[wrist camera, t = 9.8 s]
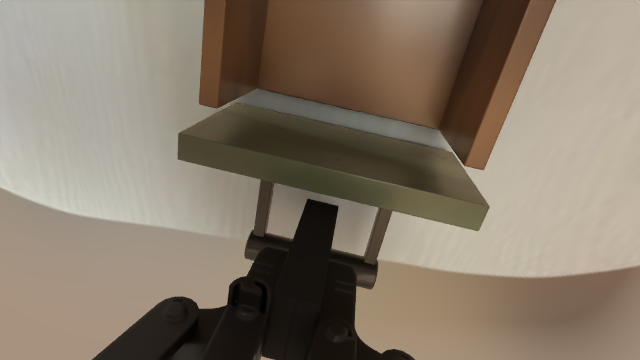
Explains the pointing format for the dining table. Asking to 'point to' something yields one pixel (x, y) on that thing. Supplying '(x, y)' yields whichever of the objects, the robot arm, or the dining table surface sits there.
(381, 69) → the drawer
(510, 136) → the dining table surface
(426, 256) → the dining table surface
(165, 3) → the dining table surface
